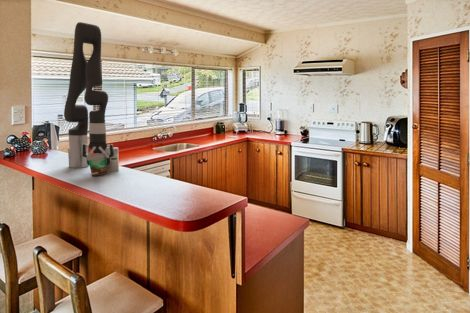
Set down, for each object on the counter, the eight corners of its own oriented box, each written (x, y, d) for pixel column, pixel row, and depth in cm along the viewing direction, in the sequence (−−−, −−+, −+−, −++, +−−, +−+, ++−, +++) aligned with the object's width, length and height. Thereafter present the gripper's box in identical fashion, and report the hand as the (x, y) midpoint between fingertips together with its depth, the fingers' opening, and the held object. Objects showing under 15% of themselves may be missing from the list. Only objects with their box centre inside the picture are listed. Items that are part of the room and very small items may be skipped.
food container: (102, 175, 170) (98, 154, 168) (90, 176, 171) (86, 156, 169) (114, 170, 182) (111, 151, 180) (103, 171, 183) (99, 152, 181)
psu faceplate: (95, 171, 183) (95, 148, 181) (96, 170, 185) (95, 147, 183) (118, 171, 185) (117, 148, 183) (118, 170, 187) (118, 147, 185)
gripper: (114, 131, 178) (115, 163, 180) (83, 131, 175) (85, 163, 178) (111, 133, 170) (112, 166, 173) (80, 132, 168) (81, 166, 170)
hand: (98, 165), depth 175 cm, fingers open, 8 cm apart
